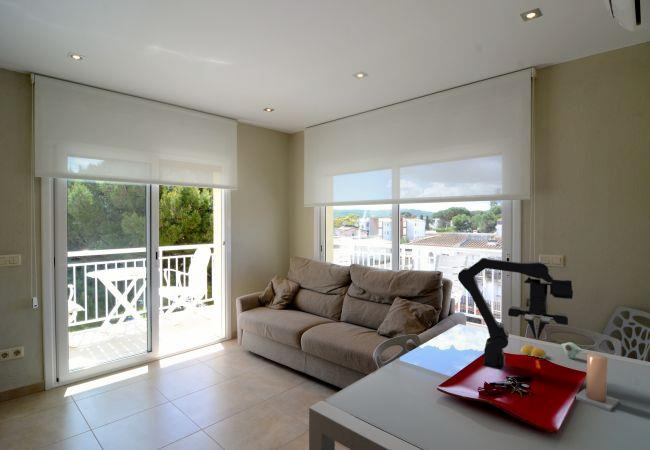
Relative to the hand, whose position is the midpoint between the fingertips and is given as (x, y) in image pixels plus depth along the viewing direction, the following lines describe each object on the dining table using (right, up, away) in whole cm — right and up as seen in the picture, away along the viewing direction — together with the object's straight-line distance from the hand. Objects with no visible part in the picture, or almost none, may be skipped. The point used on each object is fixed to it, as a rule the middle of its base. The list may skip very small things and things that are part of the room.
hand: (536, 338), depth 130 cm
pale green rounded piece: (+23, -14, +15) cm, 31 cm away
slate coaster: (+7, -13, -19) cm, 25 cm away
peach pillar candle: (+7, -13, -19) cm, 24 cm away
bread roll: (+9, -13, +18) cm, 24 cm away
